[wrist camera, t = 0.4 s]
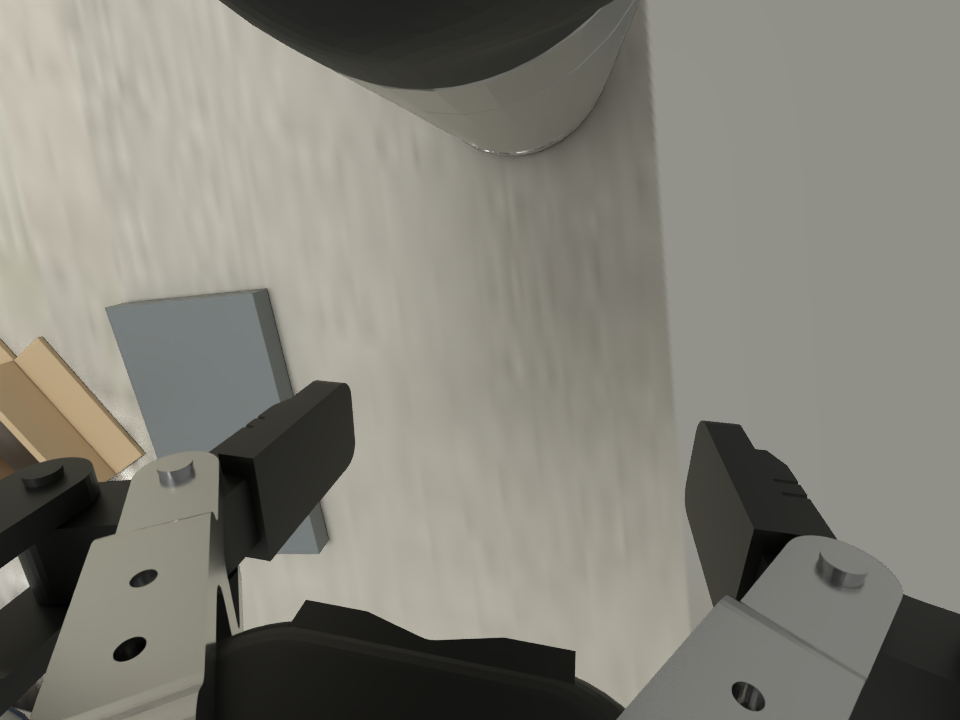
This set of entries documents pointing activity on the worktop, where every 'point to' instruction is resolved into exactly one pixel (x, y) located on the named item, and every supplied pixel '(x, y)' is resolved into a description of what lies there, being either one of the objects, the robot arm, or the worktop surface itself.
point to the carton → (59, 412)
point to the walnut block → (13, 453)
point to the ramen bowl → (13, 715)
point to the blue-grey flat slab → (207, 375)
